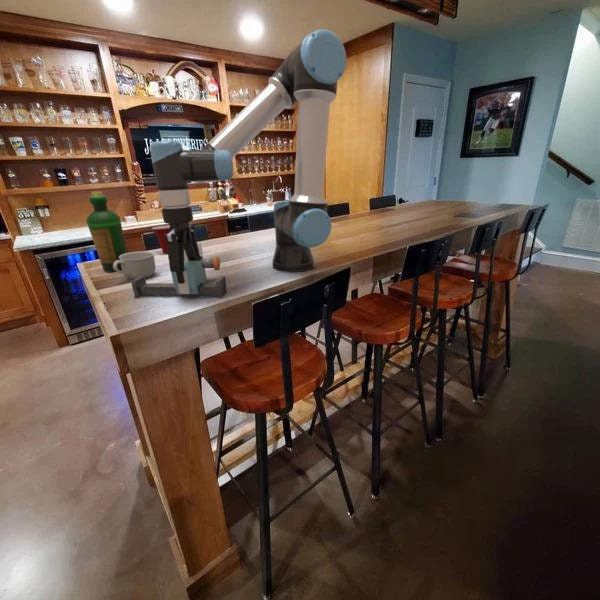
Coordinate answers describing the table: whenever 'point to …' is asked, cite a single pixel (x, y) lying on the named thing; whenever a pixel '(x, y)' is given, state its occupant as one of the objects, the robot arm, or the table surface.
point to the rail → (169, 291)
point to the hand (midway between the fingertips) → (190, 288)
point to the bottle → (106, 232)
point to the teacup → (136, 264)
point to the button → (211, 263)
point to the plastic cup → (162, 236)
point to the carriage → (191, 276)
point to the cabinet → (198, 258)
